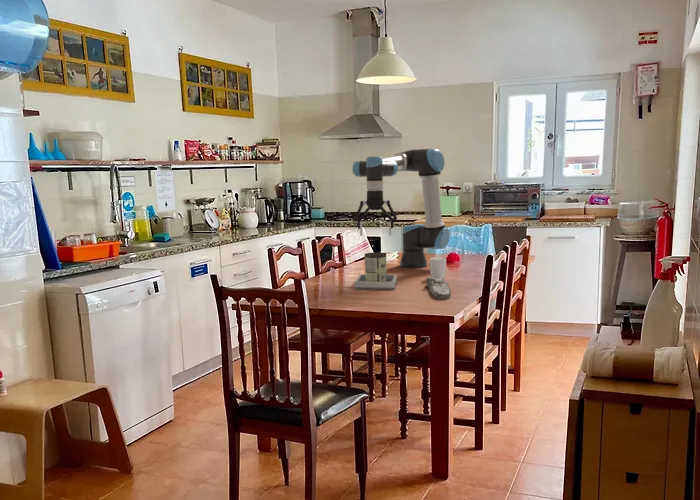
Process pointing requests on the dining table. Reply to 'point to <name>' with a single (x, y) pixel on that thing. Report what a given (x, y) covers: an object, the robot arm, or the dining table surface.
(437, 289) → the elongated rock
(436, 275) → the white cup
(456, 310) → the dining table surface
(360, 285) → the square holder
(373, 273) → the coffee can
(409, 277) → the dining table surface
